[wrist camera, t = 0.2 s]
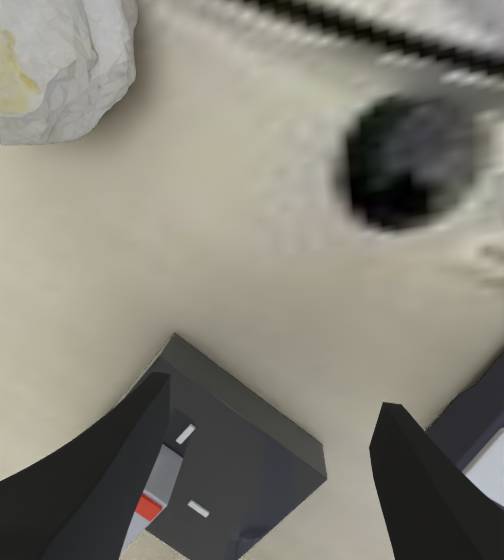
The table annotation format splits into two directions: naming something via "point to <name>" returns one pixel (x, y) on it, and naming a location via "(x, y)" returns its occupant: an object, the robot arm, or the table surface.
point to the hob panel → (227, 459)
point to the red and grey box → (477, 433)
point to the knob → (155, 492)
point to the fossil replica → (62, 66)
